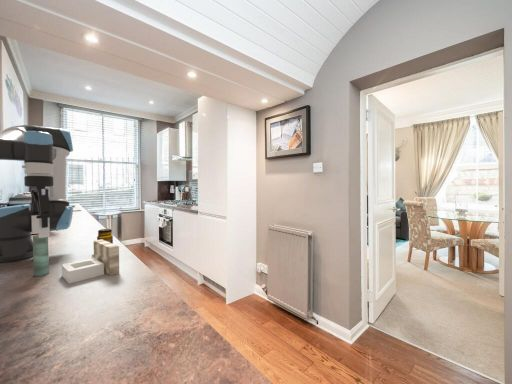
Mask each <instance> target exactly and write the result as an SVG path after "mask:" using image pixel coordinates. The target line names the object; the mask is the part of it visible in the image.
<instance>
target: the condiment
mask: <svg viewBox="0 0 512 384" xmlns="http://www.w3.org/2000/svg"><path fill="white" fill-rule="evenodd" d="M101 239H102V240H105V241H108V242H110V243H113V244H114V242H113V241H114V240H113V239H114V235H113V231H112V229H111V228H102V229H98V231H97V236H96V240H101ZM93 258H94V253H93V254H91V258H90V259H93Z"/></svg>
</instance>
